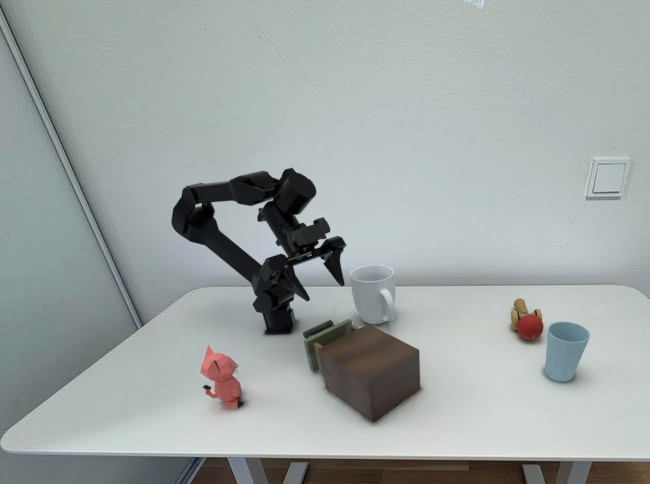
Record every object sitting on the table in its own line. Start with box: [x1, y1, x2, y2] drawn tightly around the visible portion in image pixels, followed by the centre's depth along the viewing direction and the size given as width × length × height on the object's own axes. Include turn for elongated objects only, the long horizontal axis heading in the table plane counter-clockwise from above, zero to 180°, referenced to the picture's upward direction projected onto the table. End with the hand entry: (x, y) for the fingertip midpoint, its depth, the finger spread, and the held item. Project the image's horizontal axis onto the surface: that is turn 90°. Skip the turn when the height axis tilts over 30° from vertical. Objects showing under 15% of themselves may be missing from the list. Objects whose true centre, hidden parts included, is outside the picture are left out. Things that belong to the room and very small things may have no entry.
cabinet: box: [318, 323, 421, 424], centre depth 72 cm, size 15×13×10 cm
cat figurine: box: [199, 344, 244, 410], centre depth 69 cm, size 7×7×12 cm
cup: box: [544, 321, 591, 383], centre depth 74 cm, size 8×8×10 cm
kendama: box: [510, 297, 545, 341], centre depth 92 cm, size 8×6×18 cm
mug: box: [349, 263, 396, 325], centre depth 93 cm, size 15×11×13 cm
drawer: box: [302, 318, 360, 376], centre depth 77 cm, size 18×11×8 cm, turn 46°
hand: (326, 292), depth 78 cm, fingers open, 9 cm apart
